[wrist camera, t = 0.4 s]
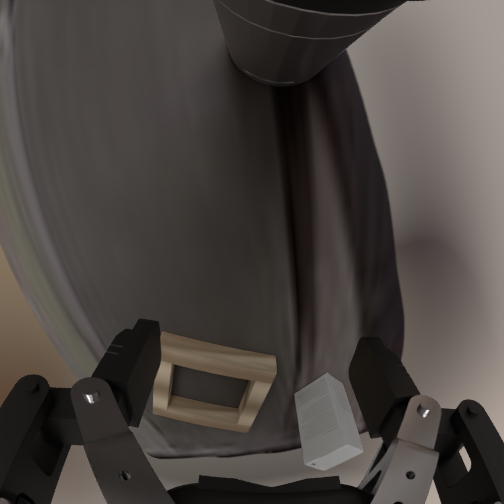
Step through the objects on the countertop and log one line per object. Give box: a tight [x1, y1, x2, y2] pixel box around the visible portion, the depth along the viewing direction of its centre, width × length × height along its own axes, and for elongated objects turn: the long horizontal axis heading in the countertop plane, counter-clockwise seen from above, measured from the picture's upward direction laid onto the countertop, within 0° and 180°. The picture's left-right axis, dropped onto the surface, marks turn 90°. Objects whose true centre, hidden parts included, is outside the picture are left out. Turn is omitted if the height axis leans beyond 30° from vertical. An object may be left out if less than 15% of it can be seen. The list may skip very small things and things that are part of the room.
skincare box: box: [294, 373, 363, 471], centre depth 32 cm, size 6×4×12 cm
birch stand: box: [153, 331, 277, 433], centre depth 35 cm, size 14×14×3 cm
